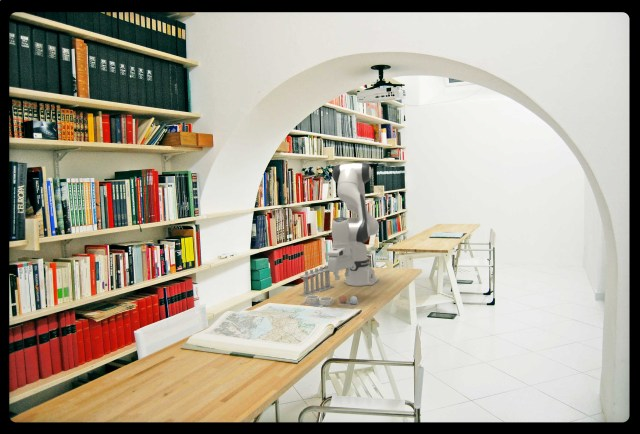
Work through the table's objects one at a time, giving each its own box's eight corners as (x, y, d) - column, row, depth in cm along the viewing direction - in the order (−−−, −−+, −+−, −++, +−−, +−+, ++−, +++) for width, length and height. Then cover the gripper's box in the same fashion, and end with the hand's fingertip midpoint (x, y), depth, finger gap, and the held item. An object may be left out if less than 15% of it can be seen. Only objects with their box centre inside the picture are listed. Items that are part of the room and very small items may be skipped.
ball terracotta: (341, 301, 243) (341, 293, 242) (348, 302, 240) (348, 294, 240) (337, 303, 239) (337, 295, 239) (344, 304, 237) (344, 296, 237)
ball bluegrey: (352, 302, 239) (352, 294, 239) (359, 303, 237) (359, 295, 237) (348, 304, 236) (348, 296, 236) (355, 305, 234) (355, 297, 234)
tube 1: (311, 299, 249) (310, 294, 248) (322, 301, 245) (321, 296, 245) (303, 302, 243) (303, 297, 243) (314, 304, 239) (314, 299, 239)
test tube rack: (306, 297, 256) (305, 272, 255) (300, 296, 259) (298, 272, 258) (333, 287, 276) (333, 264, 275) (327, 286, 279) (326, 264, 278)
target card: (310, 300, 249) (310, 299, 249) (335, 303, 241) (335, 302, 241) (299, 305, 240) (299, 304, 240) (325, 308, 232) (325, 307, 232)
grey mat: (342, 301, 244) (342, 300, 243) (360, 303, 238) (360, 303, 238) (336, 304, 238) (336, 303, 238) (354, 307, 233) (354, 306, 233)
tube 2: (324, 301, 244) (323, 296, 244) (335, 302, 240) (335, 297, 240) (316, 304, 239) (316, 299, 238) (328, 306, 235) (328, 301, 235)
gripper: (346, 247, 248) (347, 273, 249) (325, 252, 231) (326, 281, 232) (357, 247, 244) (357, 274, 245) (336, 253, 227) (337, 282, 228)
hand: (342, 278), depth 238 cm, fingers open, 8 cm apart
